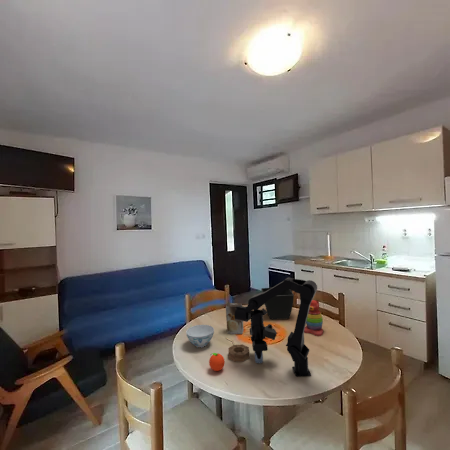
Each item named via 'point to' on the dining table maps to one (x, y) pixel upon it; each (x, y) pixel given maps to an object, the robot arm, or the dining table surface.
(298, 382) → the dining table surface
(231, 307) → the coffee box
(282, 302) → the black bin
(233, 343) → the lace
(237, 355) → the bead
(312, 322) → the stacking bear
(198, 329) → the chinaware
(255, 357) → the tapered blue cylinder
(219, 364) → the clementine
